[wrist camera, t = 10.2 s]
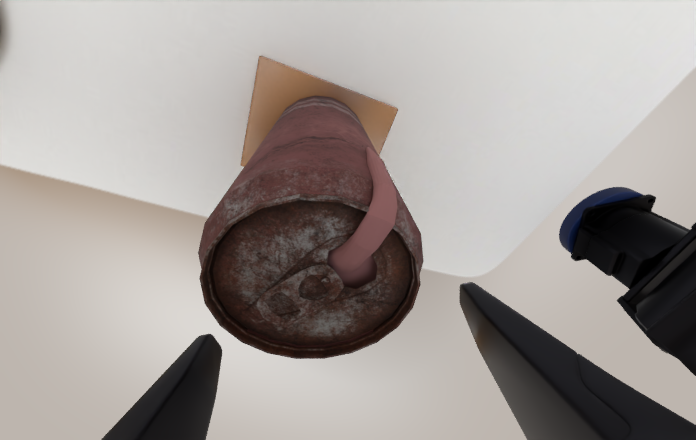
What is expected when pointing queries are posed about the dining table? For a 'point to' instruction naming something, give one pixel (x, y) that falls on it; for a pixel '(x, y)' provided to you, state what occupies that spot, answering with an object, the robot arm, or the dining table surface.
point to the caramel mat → (291, 85)
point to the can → (311, 240)
